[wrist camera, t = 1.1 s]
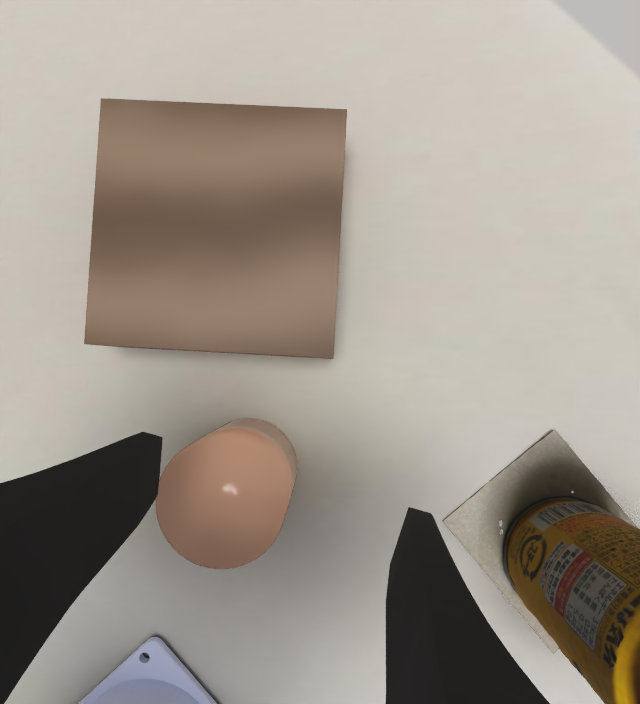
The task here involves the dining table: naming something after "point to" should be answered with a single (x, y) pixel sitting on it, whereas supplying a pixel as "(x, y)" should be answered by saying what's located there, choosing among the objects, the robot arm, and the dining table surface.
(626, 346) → the dining table surface
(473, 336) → the dining table surface
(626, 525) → the condiment
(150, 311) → the walnut block
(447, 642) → the robot arm
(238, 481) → the terracotta cylinder
